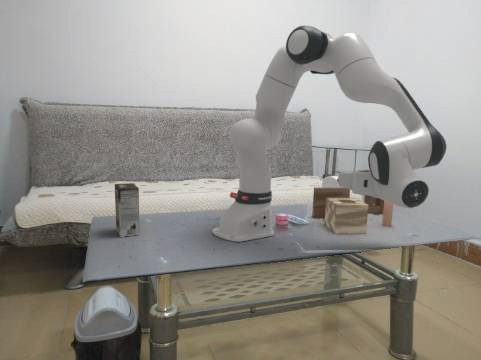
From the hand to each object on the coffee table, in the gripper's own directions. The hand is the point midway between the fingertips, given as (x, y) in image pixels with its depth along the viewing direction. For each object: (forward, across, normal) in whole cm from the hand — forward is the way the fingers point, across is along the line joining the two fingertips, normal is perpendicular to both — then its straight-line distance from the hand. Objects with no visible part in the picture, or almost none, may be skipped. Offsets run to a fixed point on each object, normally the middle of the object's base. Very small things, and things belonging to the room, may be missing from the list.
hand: (362, 175), depth 117 cm
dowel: (+15, -18, +22) cm, 32 cm away
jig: (+15, 0, +22) cm, 27 cm away
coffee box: (+11, +76, +22) cm, 80 cm away
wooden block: (+36, -24, +22) cm, 48 cm away
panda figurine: (+44, -8, +22) cm, 50 cm away
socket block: (+11, 0, +21) cm, 23 cm away
